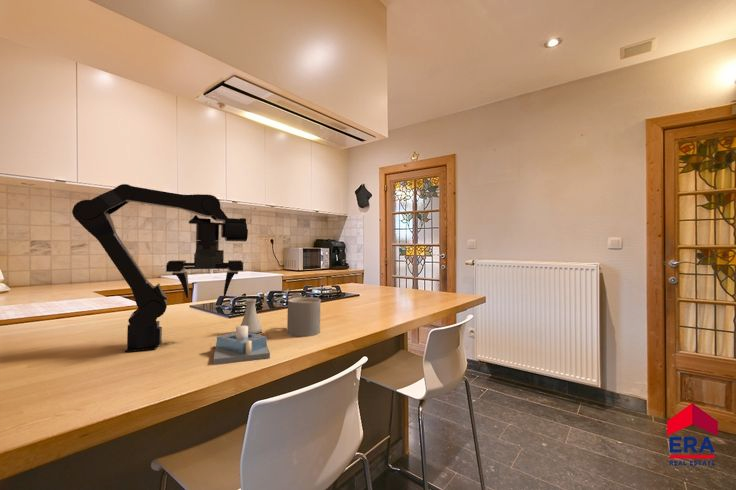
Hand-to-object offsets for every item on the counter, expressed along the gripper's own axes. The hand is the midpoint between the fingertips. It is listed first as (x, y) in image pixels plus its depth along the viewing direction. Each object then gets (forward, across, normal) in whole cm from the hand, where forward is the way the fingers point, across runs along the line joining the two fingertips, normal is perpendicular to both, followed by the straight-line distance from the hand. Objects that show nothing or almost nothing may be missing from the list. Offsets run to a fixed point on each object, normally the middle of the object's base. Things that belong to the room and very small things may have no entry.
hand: (206, 296), depth 90 cm
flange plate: (+11, +9, -14) cm, 20 cm away
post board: (+12, +9, -14) cm, 21 cm away
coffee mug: (+12, +27, +1) cm, 30 cm away
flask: (+12, +12, +5) cm, 18 cm away
